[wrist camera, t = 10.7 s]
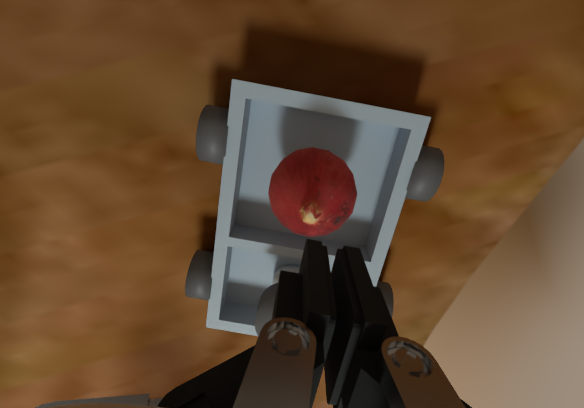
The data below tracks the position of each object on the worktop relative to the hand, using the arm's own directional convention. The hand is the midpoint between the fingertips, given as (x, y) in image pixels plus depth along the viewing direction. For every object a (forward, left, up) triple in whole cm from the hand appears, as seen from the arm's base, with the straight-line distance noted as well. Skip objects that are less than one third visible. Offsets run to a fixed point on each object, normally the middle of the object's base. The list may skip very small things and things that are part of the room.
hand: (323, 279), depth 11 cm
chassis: (+4, 0, -15) cm, 16 cm away
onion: (0, 0, -14) cm, 14 cm away
